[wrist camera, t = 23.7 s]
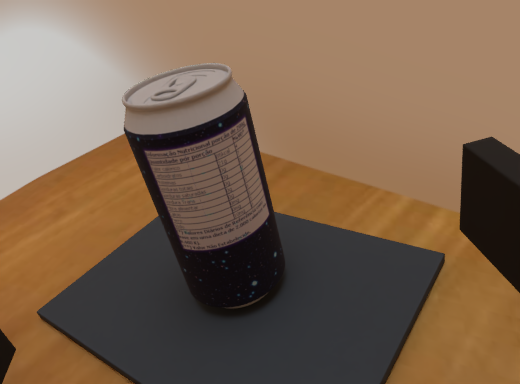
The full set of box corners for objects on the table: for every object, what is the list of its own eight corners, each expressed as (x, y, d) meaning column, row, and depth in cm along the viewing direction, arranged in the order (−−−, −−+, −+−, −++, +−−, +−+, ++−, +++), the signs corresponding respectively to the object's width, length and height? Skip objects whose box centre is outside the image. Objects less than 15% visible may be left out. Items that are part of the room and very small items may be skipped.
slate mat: (444, 261, 24) (444, 253, 24) (321, 513, 15) (319, 506, 15) (191, 196, 36) (189, 190, 35) (40, 318, 27) (35, 311, 27)
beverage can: (301, 254, 26) (260, 55, 20) (264, 329, 22) (197, 106, 15) (221, 244, 28) (161, 64, 22) (174, 309, 24) (84, 111, 18)
